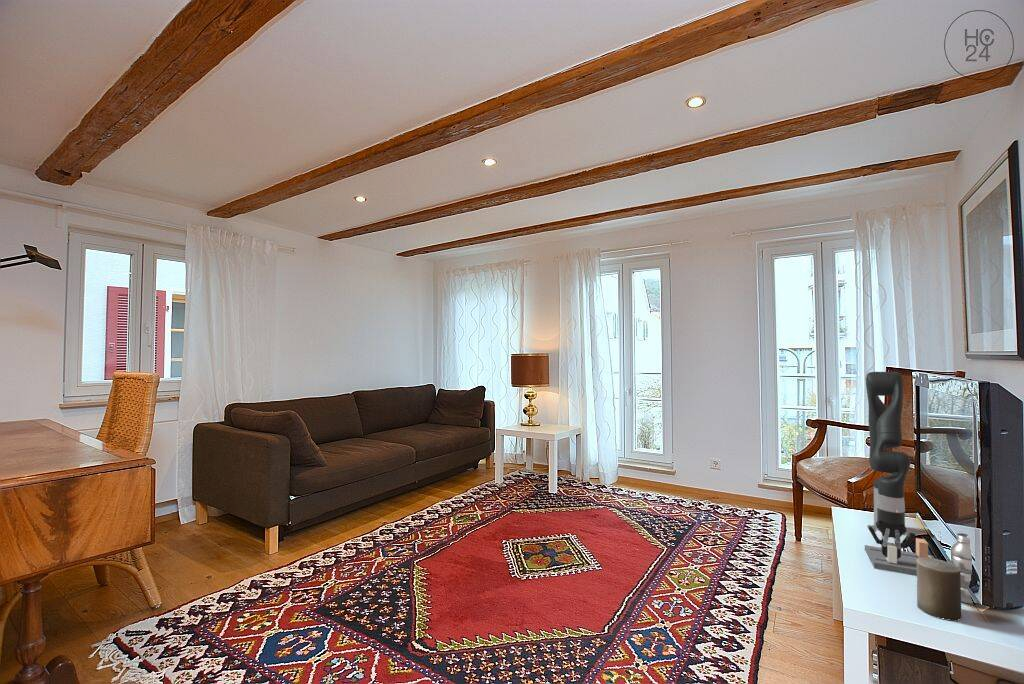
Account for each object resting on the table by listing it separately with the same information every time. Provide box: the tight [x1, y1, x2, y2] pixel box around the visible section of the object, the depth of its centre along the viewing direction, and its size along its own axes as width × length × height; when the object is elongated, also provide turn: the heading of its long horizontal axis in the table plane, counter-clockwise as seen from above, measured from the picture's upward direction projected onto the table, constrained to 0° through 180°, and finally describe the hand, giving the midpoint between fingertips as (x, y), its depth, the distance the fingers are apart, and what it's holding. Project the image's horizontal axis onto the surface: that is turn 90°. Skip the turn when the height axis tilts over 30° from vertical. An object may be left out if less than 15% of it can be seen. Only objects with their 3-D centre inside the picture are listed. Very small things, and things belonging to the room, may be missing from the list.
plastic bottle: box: [950, 532, 974, 605], centre depth 142 cm, size 6×7×20 cm
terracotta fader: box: [915, 537, 929, 558], centre depth 167 cm, size 2×4×6 cm, turn 152°
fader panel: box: [864, 544, 936, 577], centre depth 166 cm, size 20×16×2 cm
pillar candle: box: [916, 558, 962, 621], centre depth 137 cm, size 10×10×15 cm
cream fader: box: [885, 541, 897, 564], centre depth 164 cm, size 2×4×6 cm, turn 153°
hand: (891, 557), depth 164 cm, fingers closed on cream fader, 2 cm apart
